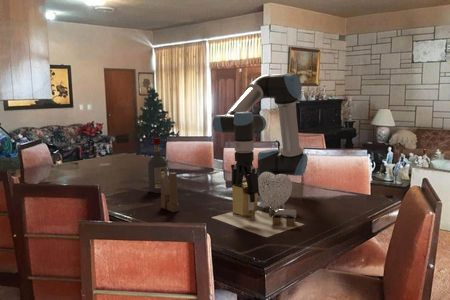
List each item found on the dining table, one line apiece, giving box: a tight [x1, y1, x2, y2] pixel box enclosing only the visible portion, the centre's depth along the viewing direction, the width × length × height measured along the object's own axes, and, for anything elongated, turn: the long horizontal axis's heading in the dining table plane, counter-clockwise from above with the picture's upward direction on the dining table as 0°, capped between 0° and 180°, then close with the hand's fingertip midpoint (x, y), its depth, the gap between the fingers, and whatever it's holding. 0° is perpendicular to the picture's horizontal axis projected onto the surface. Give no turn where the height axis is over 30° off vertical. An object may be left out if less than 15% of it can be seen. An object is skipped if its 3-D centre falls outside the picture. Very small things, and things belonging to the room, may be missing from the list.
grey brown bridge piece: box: [268, 207, 297, 227], centre depth 160 cm, size 10×5×7 cm, turn 75°
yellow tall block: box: [231, 182, 259, 215], centre depth 160 cm, size 8×6×11 cm
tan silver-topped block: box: [232, 211, 255, 218], centre depth 174 cm, size 9×5×7 cm, turn 40°
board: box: [210, 210, 305, 238], centre depth 166 cm, size 22×33×1 cm, turn 40°
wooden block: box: [160, 171, 180, 213], centre depth 186 cm, size 4×11×18 cm, turn 39°
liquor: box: [147, 137, 169, 194], centre depth 222 cm, size 9×9×30 cm
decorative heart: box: [258, 172, 293, 209], centre depth 184 cm, size 18×11×17 cm, turn 48°
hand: (245, 207), depth 161 cm, fingers closed on yellow tall block, 6 cm apart
